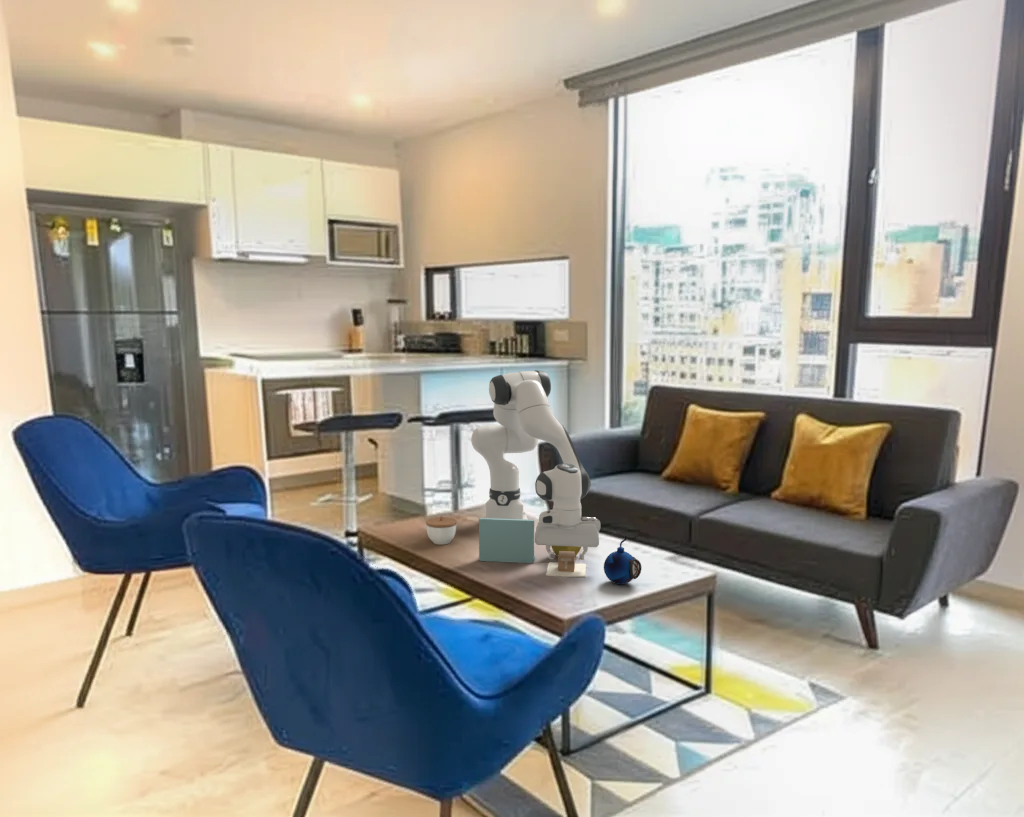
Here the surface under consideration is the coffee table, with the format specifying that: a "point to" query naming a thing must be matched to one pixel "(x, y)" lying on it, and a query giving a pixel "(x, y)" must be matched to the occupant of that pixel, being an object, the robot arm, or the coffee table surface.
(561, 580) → the coffee table surface
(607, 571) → the bomb
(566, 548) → the flower pot
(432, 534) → the lidded jar
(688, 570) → the coffee table surface
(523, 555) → the screen
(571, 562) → the brown block
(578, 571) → the pad
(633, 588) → the coffee table surface
